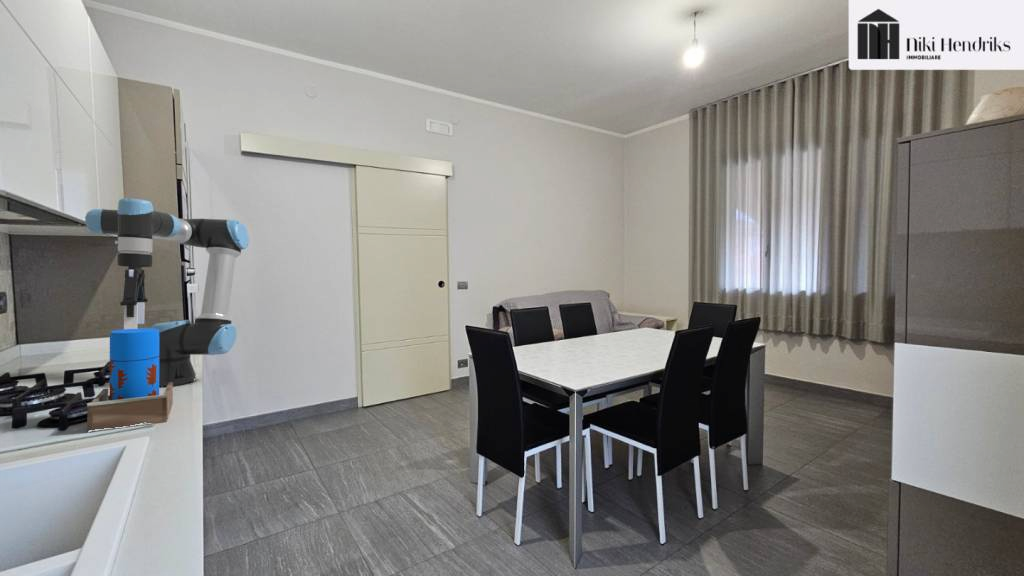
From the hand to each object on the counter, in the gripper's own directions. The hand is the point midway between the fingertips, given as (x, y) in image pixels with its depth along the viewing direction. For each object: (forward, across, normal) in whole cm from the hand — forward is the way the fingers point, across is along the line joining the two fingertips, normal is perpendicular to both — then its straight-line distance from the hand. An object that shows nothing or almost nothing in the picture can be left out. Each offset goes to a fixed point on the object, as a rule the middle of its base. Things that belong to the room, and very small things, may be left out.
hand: (134, 326), depth 122 cm
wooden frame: (+26, +1, 0) cm, 26 cm away
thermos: (+26, 0, 0) cm, 27 cm away
